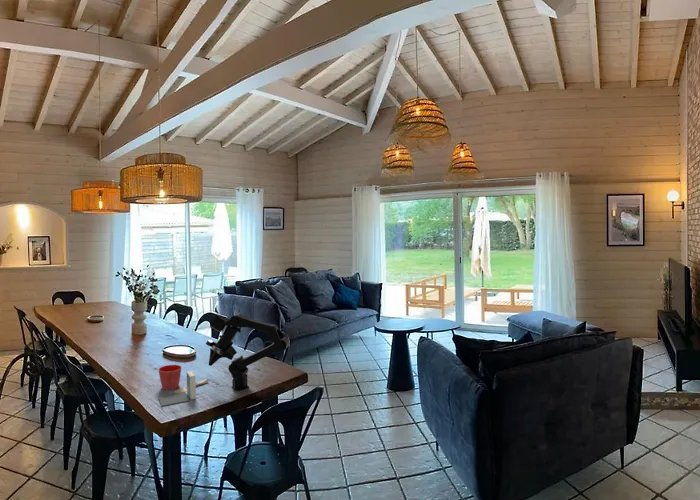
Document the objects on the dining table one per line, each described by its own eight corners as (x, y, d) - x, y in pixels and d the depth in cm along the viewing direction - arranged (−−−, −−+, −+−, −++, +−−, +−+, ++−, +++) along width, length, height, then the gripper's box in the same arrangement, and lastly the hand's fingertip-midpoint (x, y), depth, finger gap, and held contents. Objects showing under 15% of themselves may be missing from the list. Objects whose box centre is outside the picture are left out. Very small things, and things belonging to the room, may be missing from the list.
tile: (192, 392, 214) (192, 370, 213) (195, 398, 207) (195, 375, 206) (187, 394, 212) (186, 371, 212) (190, 399, 206) (189, 376, 205)
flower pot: (185, 382, 227) (184, 364, 227) (177, 390, 216) (176, 371, 216) (164, 383, 227) (163, 364, 226) (155, 391, 216) (154, 371, 215)
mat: (185, 392, 214) (185, 391, 214) (189, 401, 203) (189, 400, 203) (158, 397, 208) (158, 396, 208) (161, 407, 198) (161, 405, 198)
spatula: (204, 380, 229) (204, 378, 229) (210, 382, 226) (210, 380, 226) (174, 392, 215) (174, 390, 214) (179, 395, 212) (179, 393, 212)
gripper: (248, 349, 216) (231, 378, 212) (230, 337, 230) (213, 365, 226) (232, 340, 209) (213, 369, 205) (214, 328, 223) (196, 356, 218)
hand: (209, 365), depth 214 cm, fingers closed
